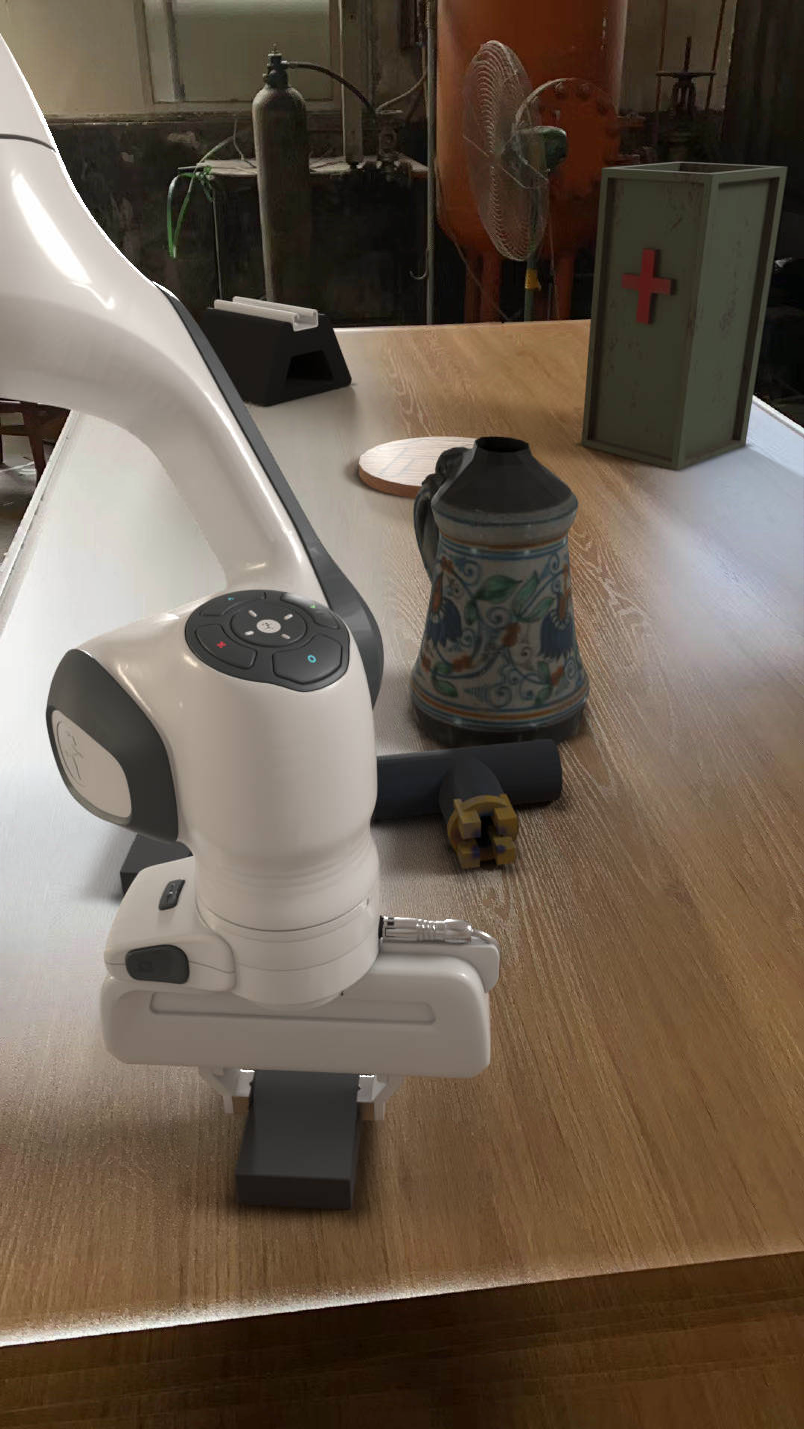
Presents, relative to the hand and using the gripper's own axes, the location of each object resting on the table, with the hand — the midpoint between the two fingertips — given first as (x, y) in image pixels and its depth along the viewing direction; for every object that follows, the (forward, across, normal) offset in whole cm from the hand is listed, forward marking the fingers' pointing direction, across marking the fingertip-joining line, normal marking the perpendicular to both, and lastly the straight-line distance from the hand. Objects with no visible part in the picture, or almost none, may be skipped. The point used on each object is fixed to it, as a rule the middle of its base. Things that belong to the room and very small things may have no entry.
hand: (305, 1108), depth 60 cm
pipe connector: (+2, -9, -29) cm, 30 cm away
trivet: (+2, -4, -119) cm, 119 cm away
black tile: (+2, 0, -2) cm, 2 cm away
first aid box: (+2, -39, -134) cm, 140 cm away
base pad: (+2, +9, -27) cm, 29 cm away
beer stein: (+2, -10, -48) cm, 49 cm away
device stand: (+2, +31, -172) cm, 175 cm away
